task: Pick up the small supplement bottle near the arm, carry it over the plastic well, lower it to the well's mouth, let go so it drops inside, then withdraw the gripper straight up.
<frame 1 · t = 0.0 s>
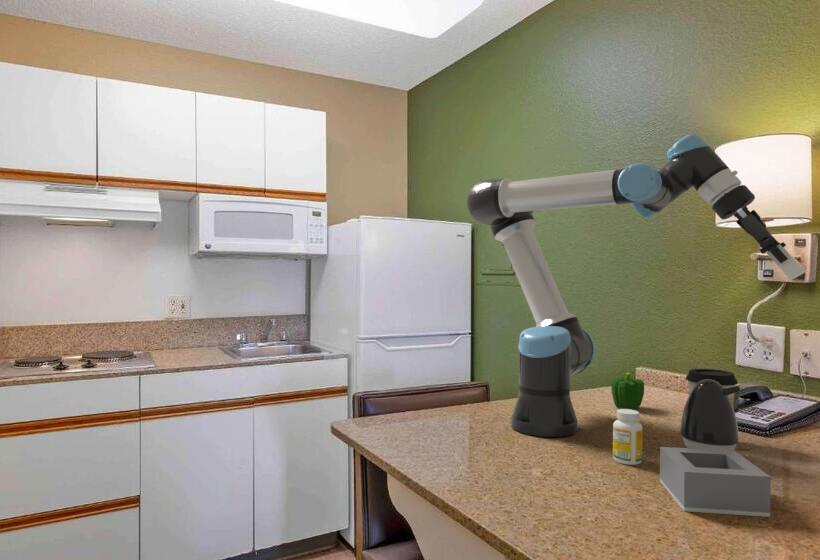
hand: (798, 275, 106), 36 cm above the countertop, tool tilted 35°, fingers open, 13 cm apart
supplement bottle: (627, 461, 103), on the countertop
bell pepper: (626, 409, 144), on the countertop
pump dispenser: (709, 456, 106), on the countertop
well: (710, 497, 86), on the countertop
coffee cup: (710, 441, 116), on the countertop
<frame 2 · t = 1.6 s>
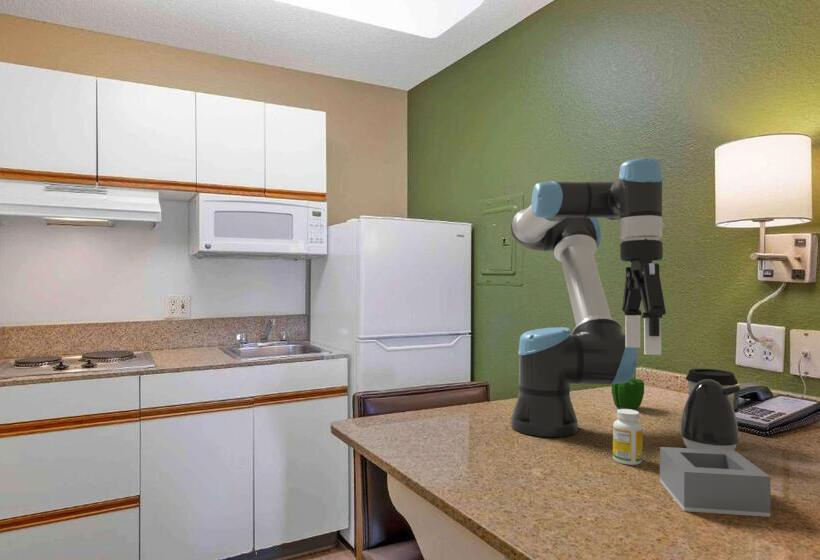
hand: (642, 351, 102), 21 cm above the countertop, tool pointing down, fingers open, 13 cm apart
nothing on the countertop moved.
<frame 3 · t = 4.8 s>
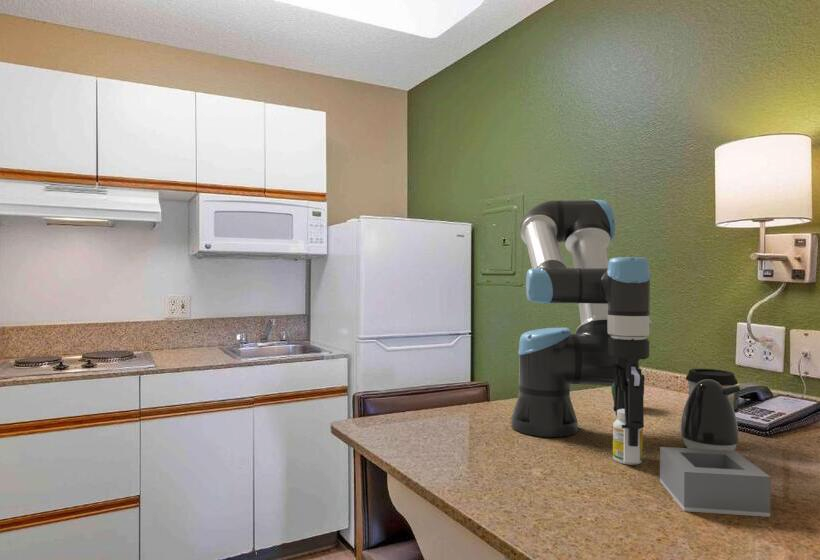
hand: (627, 456, 103), 1 cm above the countertop, tool pointing down, fingers closed on supplement bottle, 5 cm apart
supplement bottle: (627, 461, 103), on the countertop, touching gripper
everything else where it was.
when the fingers open (9 cm above the countertop, at t = 10.1 s): supplement bottle drops 7 cm, resting on well.
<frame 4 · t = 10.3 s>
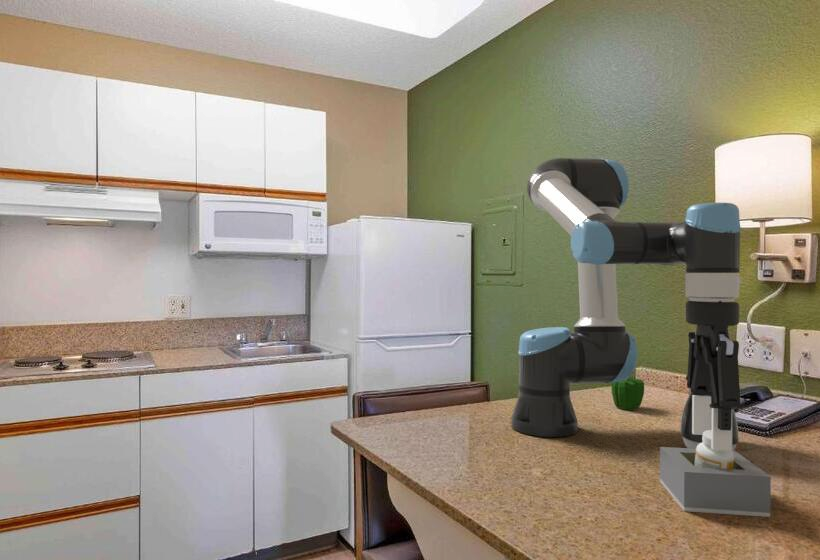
hand: (711, 441, 86), 9 cm above the countertop, tool pointing down, fingers open, 7 cm apart
supplement bottle: (710, 492, 86), point 1 cm above the countertop, touching gripper, well
everything else where it was.
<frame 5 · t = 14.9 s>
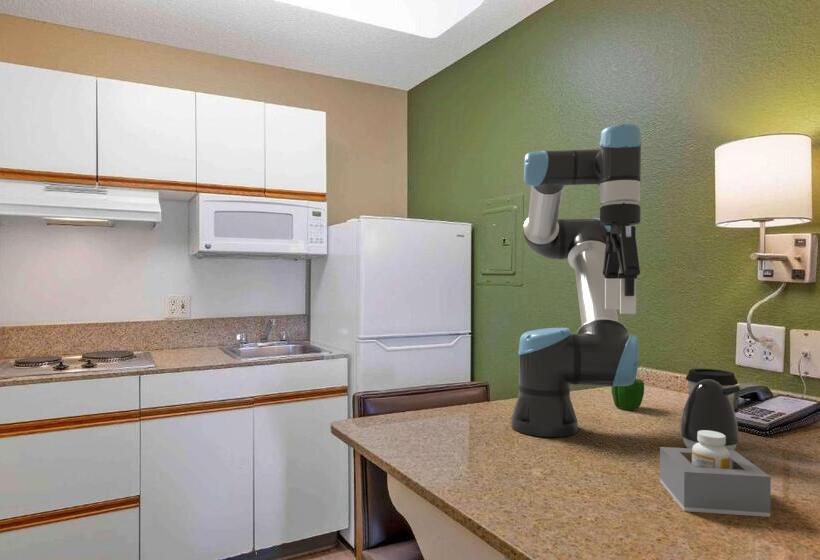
hand: (619, 311, 106), 29 cm above the countertop, tool pointing down, fingers open, 13 cm apart
supplement bottle: (709, 493, 86), resting on well
everything else where it was.
at the end: supplement bottle 0.5 cm off-centre on the well, point 0.5 cm above the well's base; supplement bottle tilted 1°; the gripper is holding nothing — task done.
